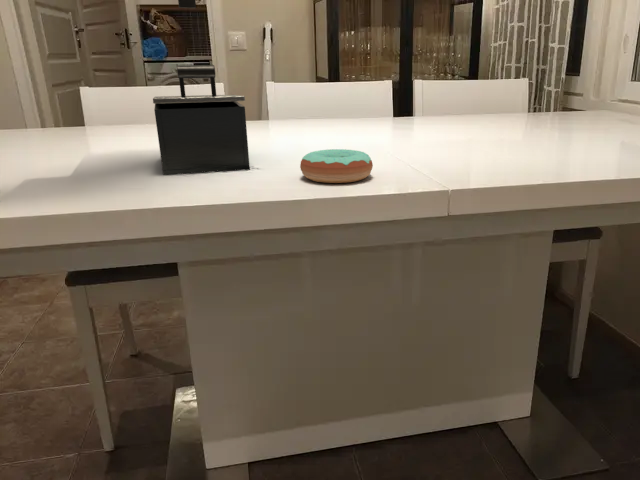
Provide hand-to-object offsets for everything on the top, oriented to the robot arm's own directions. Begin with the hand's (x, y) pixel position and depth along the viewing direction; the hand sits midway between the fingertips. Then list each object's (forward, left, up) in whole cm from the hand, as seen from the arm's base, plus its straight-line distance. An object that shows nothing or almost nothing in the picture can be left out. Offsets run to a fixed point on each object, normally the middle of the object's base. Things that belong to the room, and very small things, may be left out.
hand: (187, 7), depth 93 cm
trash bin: (0, +1, -26) cm, 26 cm away
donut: (+20, -19, -27) cm, 38 cm away
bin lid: (0, 0, -15) cm, 15 cm away
